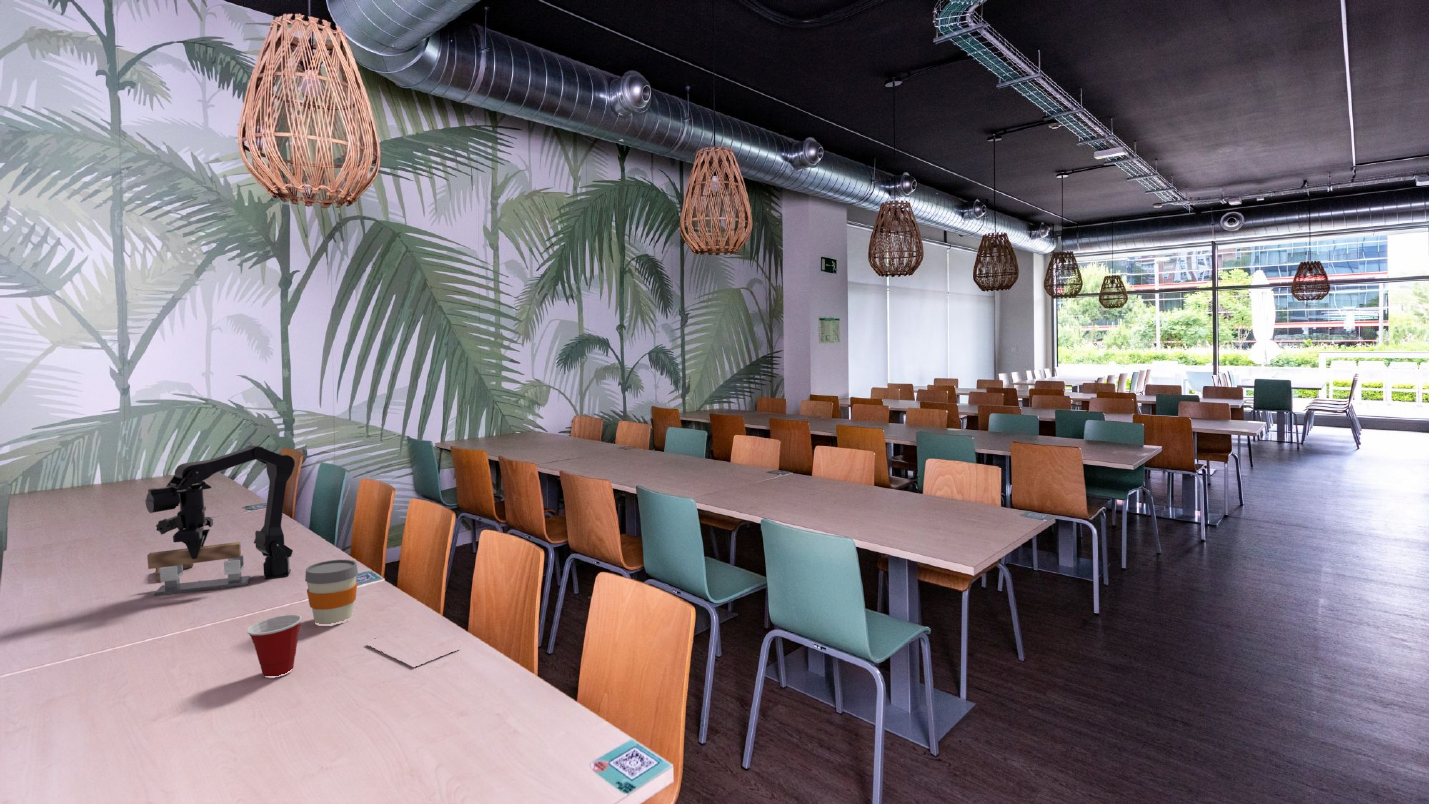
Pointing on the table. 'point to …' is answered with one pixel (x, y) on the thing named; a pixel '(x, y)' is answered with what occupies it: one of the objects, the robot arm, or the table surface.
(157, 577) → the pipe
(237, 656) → the table surface
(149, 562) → the rail
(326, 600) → the reusable coffee cup
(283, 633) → the plastic cup
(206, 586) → the bracket stand
